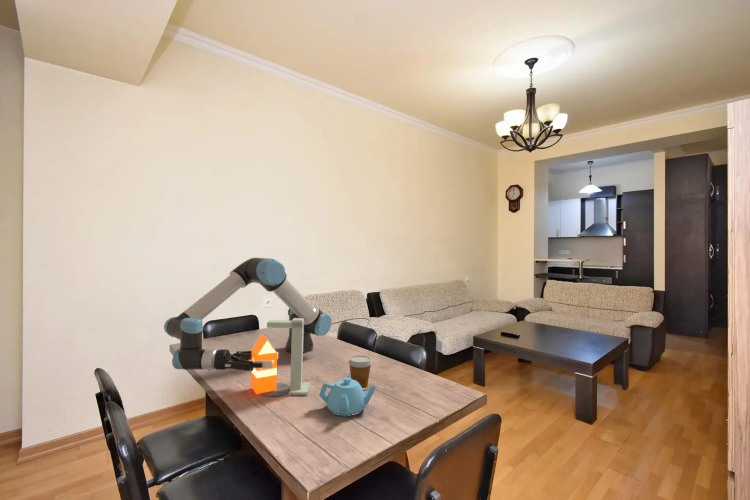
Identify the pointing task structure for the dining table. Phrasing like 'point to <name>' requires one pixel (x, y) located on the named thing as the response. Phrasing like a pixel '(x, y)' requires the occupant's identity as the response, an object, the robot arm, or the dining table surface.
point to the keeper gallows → (294, 354)
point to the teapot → (346, 396)
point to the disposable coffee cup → (360, 369)
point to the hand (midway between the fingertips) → (275, 359)
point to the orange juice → (264, 377)
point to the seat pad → (277, 390)
